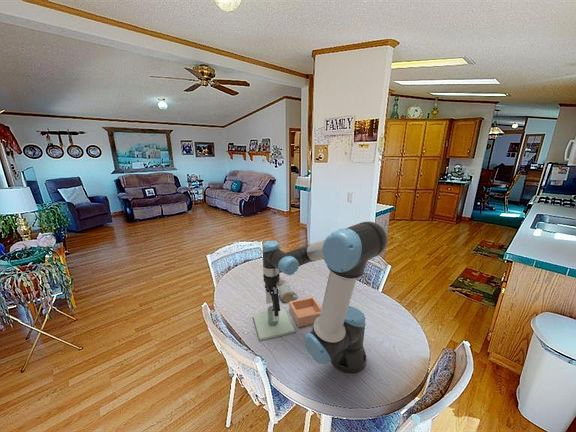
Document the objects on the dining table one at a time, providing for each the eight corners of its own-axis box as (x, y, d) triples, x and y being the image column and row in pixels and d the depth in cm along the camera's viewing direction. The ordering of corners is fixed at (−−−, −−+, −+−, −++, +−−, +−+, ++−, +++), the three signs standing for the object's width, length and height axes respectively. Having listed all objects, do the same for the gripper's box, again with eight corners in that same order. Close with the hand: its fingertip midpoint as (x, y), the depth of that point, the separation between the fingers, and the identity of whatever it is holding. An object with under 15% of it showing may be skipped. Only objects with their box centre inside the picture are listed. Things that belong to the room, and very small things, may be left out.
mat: (296, 333, 123) (296, 332, 123) (259, 342, 118) (259, 341, 118) (285, 310, 140) (285, 309, 139) (252, 317, 134) (252, 316, 134)
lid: (294, 332, 123) (294, 316, 121) (259, 340, 118) (258, 324, 116) (284, 310, 139) (284, 295, 136) (253, 317, 134) (252, 302, 131)
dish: (324, 322, 130) (324, 312, 129) (298, 328, 126) (298, 318, 125) (313, 305, 143) (313, 296, 141) (289, 311, 139) (289, 301, 137)
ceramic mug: (282, 304, 144) (282, 292, 142) (277, 296, 152) (277, 285, 149) (299, 301, 148) (299, 289, 146) (294, 293, 155) (294, 281, 153)
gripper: (287, 286, 110) (287, 327, 116) (272, 259, 132) (273, 295, 139) (269, 289, 108) (271, 330, 114) (258, 262, 130) (259, 297, 137)
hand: (272, 311), depth 127 cm, fingers open, 13 cm apart
